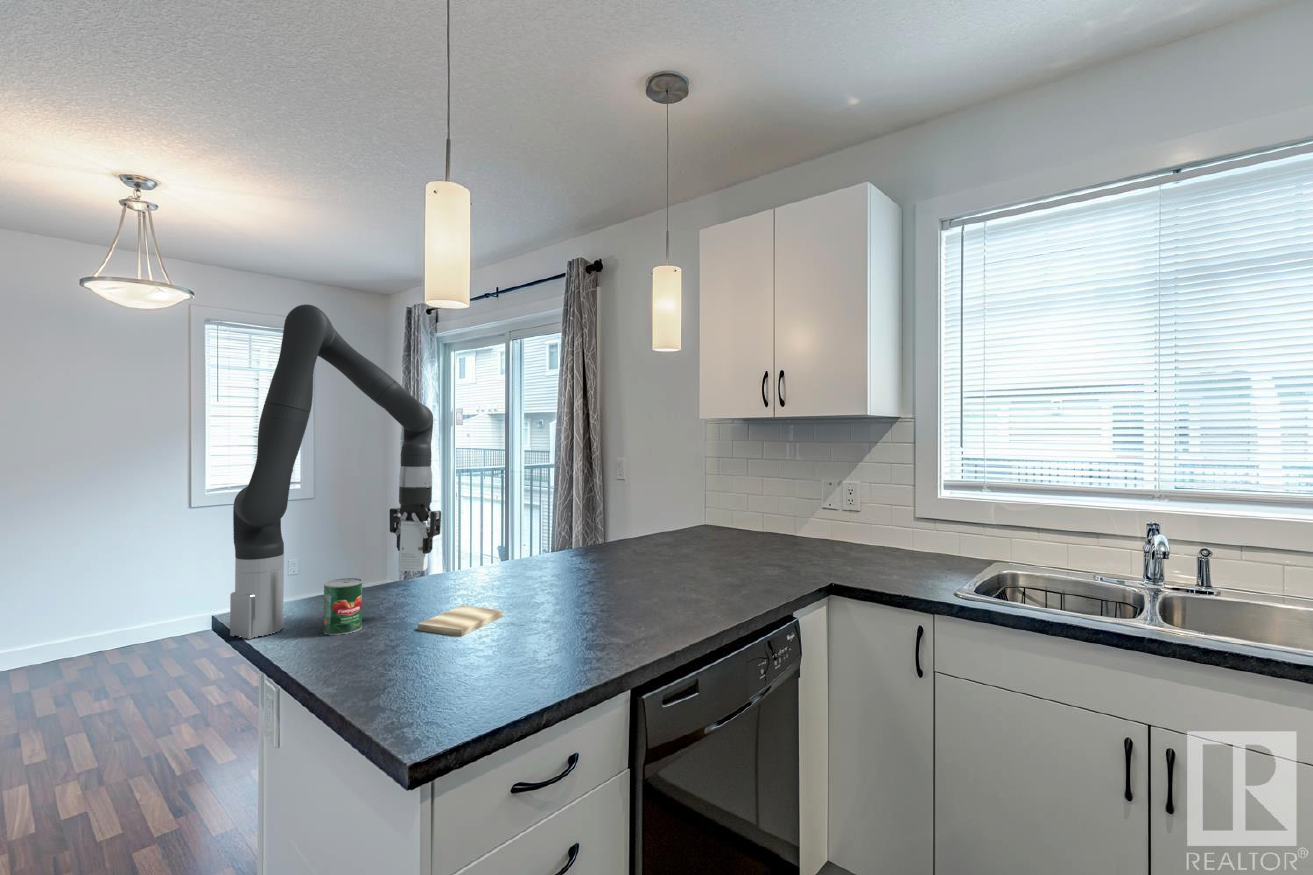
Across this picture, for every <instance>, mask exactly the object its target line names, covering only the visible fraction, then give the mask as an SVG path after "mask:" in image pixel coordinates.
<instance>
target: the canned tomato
mask: <svg viewBox="0 0 1313 875" xmlns="http://www.w3.org/2000/svg"><path fill="white" fill-rule="evenodd" d="M362 615H363V579H361V578H356V577H346V578H337V579H336V578H335V579H332V580H327V581H326V582H324V583H323V632H324V633H326V634H330V635H329V636H334V635H335V636H341V635H340V634H346V635H349V634H348V633H351V634H353V633H352V632H354V633H357V632H359V631H360V630H361V629H362V628H363V626H362V624H363V622H362V621H363V616H362ZM324 633H323V634H324ZM326 634H325V635H326Z"/></svg>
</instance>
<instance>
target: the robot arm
mask: <svg viewBox="0 0 1313 875" xmlns="http://www.w3.org/2000/svg"><path fill="white" fill-rule="evenodd" d="M283 325H284V326H283V330H282V337H281V343H280V344H281V346H280V352H279V357H278V360H277V364H276V367H275V369H274V372H273V376H272V379H271V381H270V385H269V388H268V390H267V391H268V392H267V394H266V397H265V400H264V403H263V408H262V409H261V410H262V411H261V414H260V419H259V424H258V430H257V449H256V452H257V454H256V461H255V465H254V468H253V471H252V475H251V477H250V479H249V482H248V485H247V486H246V487H243V489H241V490H240V491H238V493H237V494H236V496H235V498H234V501H233V505H232V506H233V508H232V509H233V511H232V512H233V514H232V518H233V519H232V521H233V526H232V528H233V546H234V552H235V553H234V558H235V560H234V561H235V563H234V566H235V568H234V570H235V571H234V573H235V574H234V591H232V592H231V593H230V595H229V596H230V597H229V598H230V601H229V602H230V611H229V612H230V614H229V615H230V616H229V618H230V619H229V620H230V621H229V628H230V629H229V636H230V637H234V635H237V636H241V637H243V638H242V639H246V638H247V640H251V639H255V638H259V637H258V636H262V635H267V634H271V633H273V632H277V633H279V632H281V631H282V630H283V629H284V582H285V581H284V572H285V569H284V568H285V563H284V562H285V554H284V553H285V544H284V539H283V536H282V522H281V521H282V518H283V517H284V515H285V514H286V511H287V509H288V504H289V497H290V496H289V494H290V488H291V481H292V475H293V470H294V466H295V464H296V460H297V459H298V458H297V457H298V454H299V452H300V449H301V445H302V443H303V438H304V436H305V433H306V429H307V425H308V423H309V420H310V419H309V418H310V414H311V411H312V407H313V406H312V405H313V396H314V394H313V393H314V372H315V365H316V363H317V359H318V357H319V358H321V359H323V360H324V361H325V362H327V363H329V364H330V365H331V366H333V367H334V368H335V369H337V370H338V371H339V372H341V373H342V374H343V376H345V377H346V378H347V379H348V380H349V381H351V383H353V385H354V386H355V387H357V388H358V389H359V390H360V391H361V392H362V393H363V394H365V395H366V396H367V397H369V399H370V400H372V401H373V402H374V403H376V404H377V405H378V406H379V407H381V408H383V409H384V410H385V411H386V412H387V413H388V414H389V415H390V416H391V417H392V418H393V419H394V420H396V422H397V423H398V424H400V425H401V427H403V443H402V445H401V451H400V470H399V479H398V480H399V482H398V486H399V487H398V503H399V504H400V507H393V508H389V533H391V534H392V533H393V534H395V536H396V548H397V551H398V552H400V533H401V522H402V521H415V523H416V525H417V527H418V529H419V530H420V531H421V532H422V534H423V536H424V538H423V553H424V554H427V553H428V554H430V553H431V552H432V551H433V544H434V543H433V541H434V540H433V538H434V537H436V536H439V535H441V528H442V526H441V524H442V511H441V510H432V509H431V506H430V505H431V504H432V501H433V500H432V498H433V497H432V496H433V472H432V440H433V431H434V430H433V428H434V416H433V412H432V410H431V409H430V408H429V407H428V406H427V405H424V404H423V403H422V402H420V401H419V400H418V399H416V398H415V397H414V396H412V394H410V393H409V392H407V391H406V390H405V389H404V387H403V386H402V385H401V384H400V383H399V382H398V381H397V380H395V379H394V378H393V377H392V376H391V375H390V374H388V373H387V372H386V371H384V370H383V369H382V368H380V367H379V366H378V365H377V364H375V363H374V362H372V361H371V360H370V359H368V358H367V357H365V356H363V355H362V354H361V353H359V352H358V351H357V350H356V349H354V348H353V347H352V346H351V345H350V344H349V343H348V342H347V341H346V340H345V339H344V338H343V337H342V336H341V335H340V333H338V331H337V330H336V328H334V326H333V323H332V322H331V320H330V319H329V317H328V316H327V315H326V313H325V312H324V311H322V309H320V308H319V307H317V306H315V305H313V304H308V303H307V304H301V305H296V306H295V307H294V308H292V309H291V310H290V311H289V312H288V314H287V315H286V317H285V320H284V323H283ZM424 521H428V524H427V525H423V524H422V522H424ZM426 529H427V530H426ZM282 628H283V629H282ZM281 629H282V630H281ZM280 630H281V631H280ZM278 631H279V632H278ZM271 635H272V634H271ZM267 636H268V635H267ZM254 637H255V638H254ZM262 637H263V636H262Z"/></svg>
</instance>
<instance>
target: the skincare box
mask: <svg viewBox="0 0 1313 875" xmlns="http://www.w3.org/2000/svg"><path fill="white" fill-rule="evenodd" d="M422 524H423V525H427V524H428V521H424V522H422ZM426 530H427V529H426ZM423 538H424V536H423V534H422V532H421V531H420V530H419V529H418V527H417V525H416V523H415V521H402V522H401V533H400V551H399V557H398V559H399V560H398V571H399V572H424V571H425V570H427V568H428V565H429V564H428V563H429V553H427V554H424V553H423Z"/></svg>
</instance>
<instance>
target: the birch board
mask: <svg viewBox="0 0 1313 875" xmlns="http://www.w3.org/2000/svg"><path fill="white" fill-rule="evenodd" d="M503 612H504V611H503V610H501V609H492V608H487V607H486V608H484V607H477V606H468V605H460V606H459V607H455V608H453V609H451V610H448V611H446V612H443V613H440V614H438V615H436V616H434V617H431V618H429V619H426V620H423V621H421V622H419V623H417V630H418V631H422V632H428V633H436V634H443V635H448V636H449V635H450V636H457V637H464V636H465V635H467V634H469V633H472V632H473V631H476V630H478V629H480V628H482V627H485V626H486V625H488V624H490V623H492V622H493V623H494V621H496V620H498V619H501V618H503V616H504V615H503V614H504V613H503Z"/></svg>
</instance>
